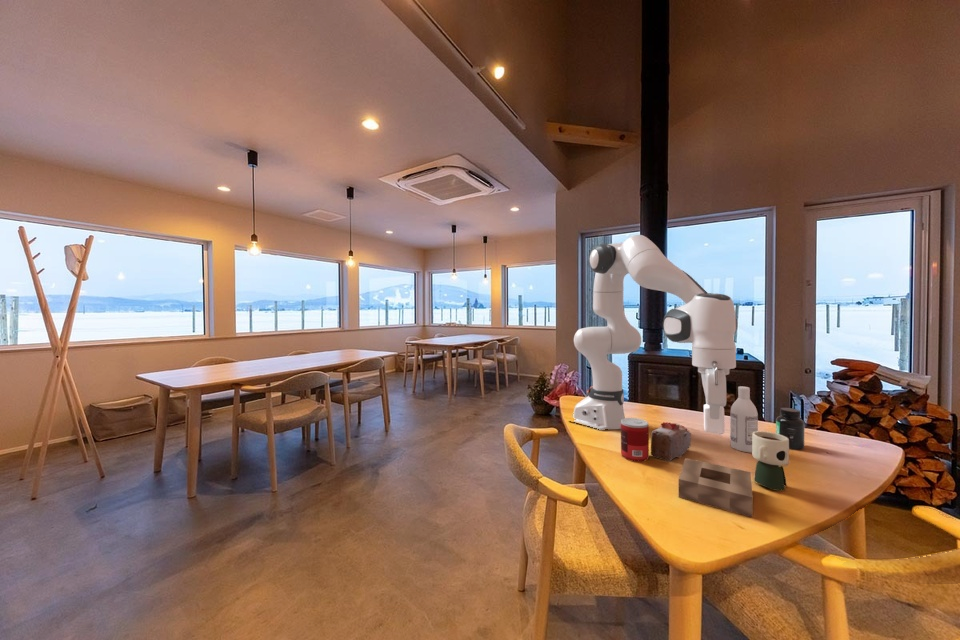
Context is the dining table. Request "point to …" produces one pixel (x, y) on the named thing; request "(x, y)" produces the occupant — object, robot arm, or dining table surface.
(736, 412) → the bath foam
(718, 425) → the pepper shaker
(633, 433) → the canned food
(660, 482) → the dining table surface
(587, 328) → the robot arm
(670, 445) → the food item
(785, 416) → the supplement bottle
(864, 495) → the dining table surface
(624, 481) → the dining table surface
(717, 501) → the socket
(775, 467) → the character mug
